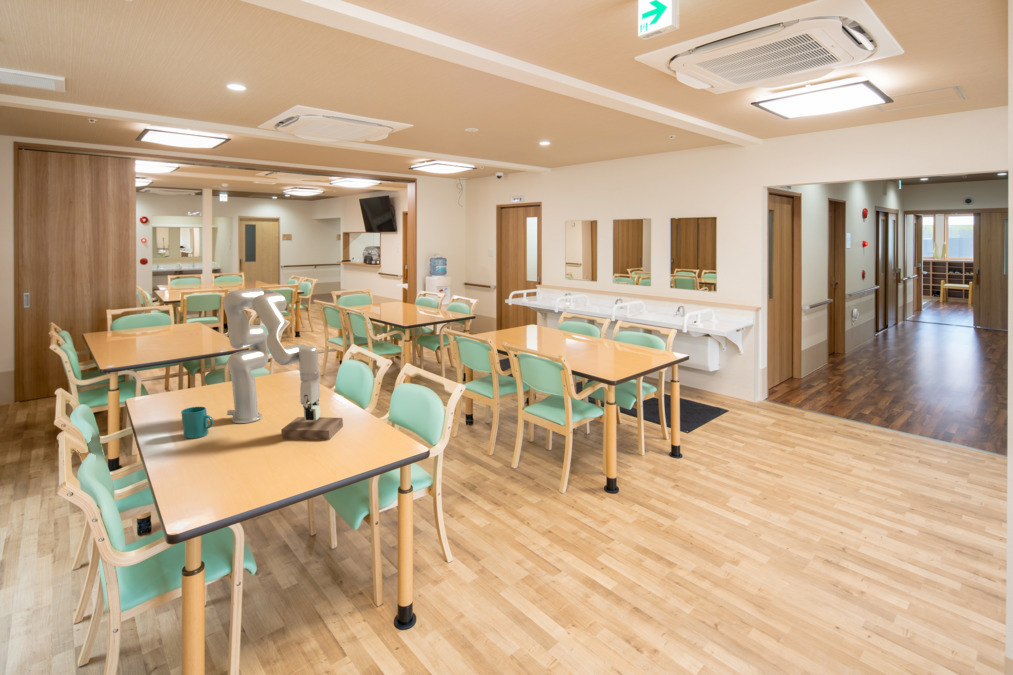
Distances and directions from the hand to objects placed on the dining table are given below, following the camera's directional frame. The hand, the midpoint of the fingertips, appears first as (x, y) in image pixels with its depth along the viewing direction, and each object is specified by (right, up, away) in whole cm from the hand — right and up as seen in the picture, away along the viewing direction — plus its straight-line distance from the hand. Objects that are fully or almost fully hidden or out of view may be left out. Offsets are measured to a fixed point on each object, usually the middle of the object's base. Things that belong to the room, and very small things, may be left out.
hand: (312, 417), depth 227 cm
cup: (-46, -7, -3) cm, 47 cm away
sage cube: (0, 0, 0) cm, 0 cm away
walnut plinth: (0, -7, +1) cm, 7 cm away
